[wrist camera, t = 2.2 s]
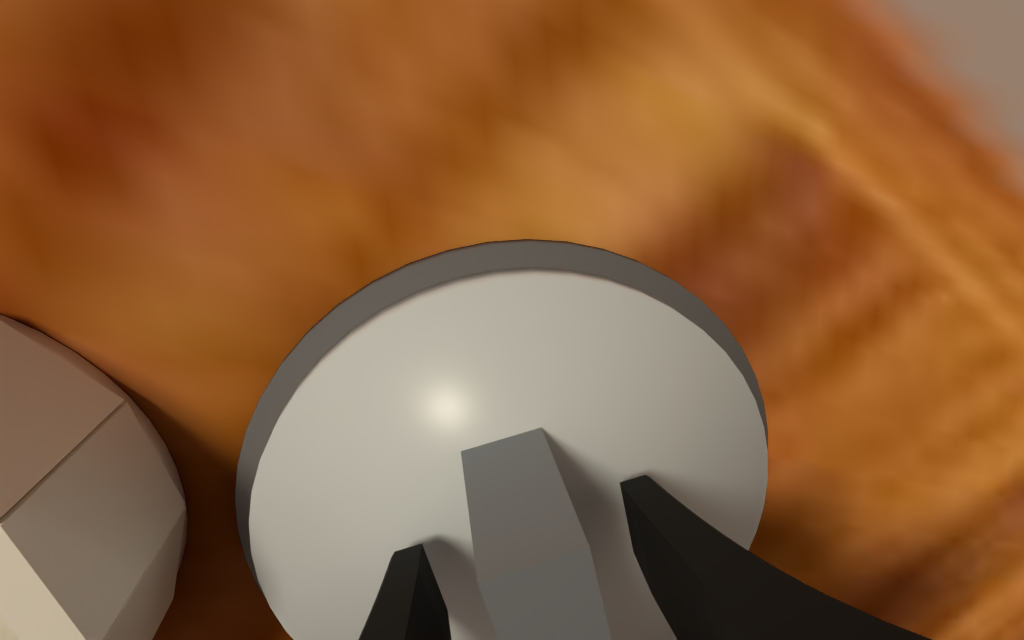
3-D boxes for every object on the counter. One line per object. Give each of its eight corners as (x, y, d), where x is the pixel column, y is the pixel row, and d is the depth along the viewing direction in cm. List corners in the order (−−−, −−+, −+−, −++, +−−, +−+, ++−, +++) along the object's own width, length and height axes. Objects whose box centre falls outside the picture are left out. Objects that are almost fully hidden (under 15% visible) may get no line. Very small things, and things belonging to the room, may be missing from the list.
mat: (772, 600, 17) (780, 611, 16) (351, 738, 16) (350, 753, 15) (739, 170, 12) (749, 172, 11) (133, 335, 11) (123, 342, 11)
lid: (763, 604, 16) (881, 770, 12) (361, 736, 15) (341, 962, 11) (729, 201, 12) (898, 246, 8) (161, 358, 11) (4, 502, 7)
